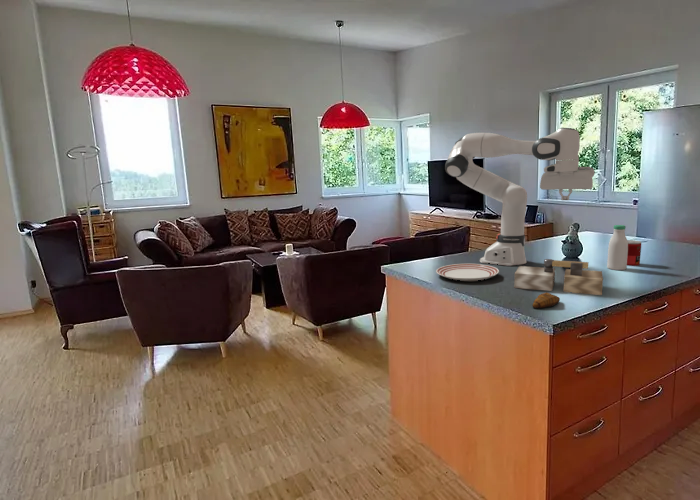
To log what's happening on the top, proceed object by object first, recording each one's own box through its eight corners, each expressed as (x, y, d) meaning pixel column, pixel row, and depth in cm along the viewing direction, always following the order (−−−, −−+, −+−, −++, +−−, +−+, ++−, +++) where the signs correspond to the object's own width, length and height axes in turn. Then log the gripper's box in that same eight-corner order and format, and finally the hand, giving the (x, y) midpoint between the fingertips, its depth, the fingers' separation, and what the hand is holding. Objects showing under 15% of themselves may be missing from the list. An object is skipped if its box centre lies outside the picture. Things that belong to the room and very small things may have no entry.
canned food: (639, 266, 210) (641, 243, 208) (619, 265, 215) (621, 242, 213) (639, 263, 217) (641, 240, 215) (620, 261, 221) (621, 239, 219)
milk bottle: (629, 270, 204) (632, 226, 200) (610, 270, 205) (613, 226, 202) (622, 266, 211) (625, 224, 207) (604, 266, 213) (607, 224, 209)
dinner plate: (461, 287, 187) (461, 280, 186) (424, 274, 211) (424, 267, 211) (512, 279, 197) (512, 271, 197) (472, 267, 222) (472, 260, 221)
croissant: (542, 312, 153) (543, 297, 152) (525, 307, 159) (526, 293, 158) (567, 304, 160) (567, 291, 159) (550, 300, 166) (550, 287, 165)
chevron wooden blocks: (514, 287, 183) (515, 262, 181) (518, 279, 195) (519, 255, 193) (601, 295, 169) (603, 267, 167) (601, 285, 181) (602, 259, 179)
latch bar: (588, 267, 177) (588, 261, 176) (587, 269, 174) (588, 263, 173) (544, 264, 184) (544, 258, 184) (543, 266, 181) (543, 260, 181)
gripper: (594, 166, 188) (592, 199, 191) (541, 167, 198) (540, 199, 200) (594, 166, 183) (592, 200, 185) (540, 168, 192) (538, 200, 195)
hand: (565, 200), depth 193 cm, fingers closed
